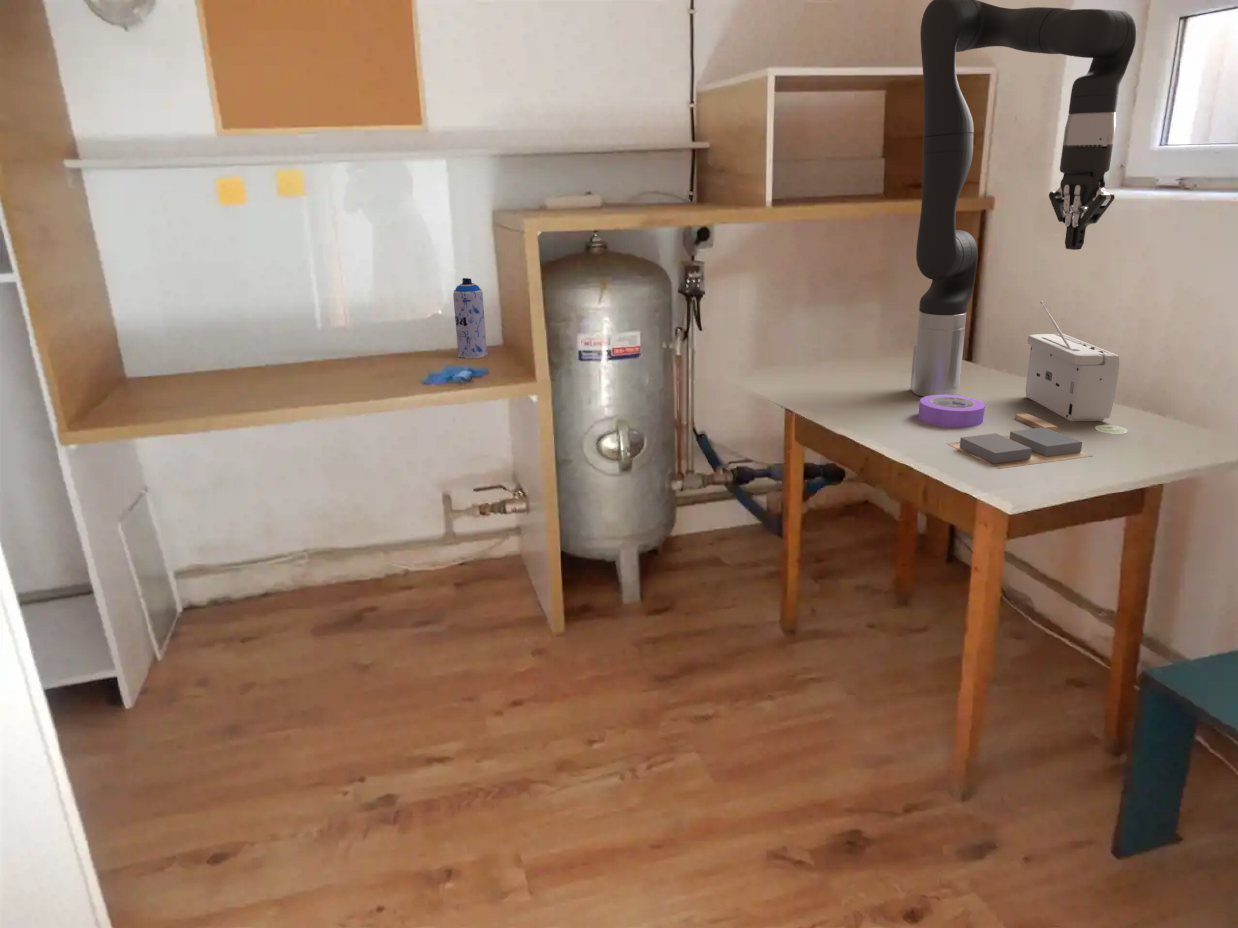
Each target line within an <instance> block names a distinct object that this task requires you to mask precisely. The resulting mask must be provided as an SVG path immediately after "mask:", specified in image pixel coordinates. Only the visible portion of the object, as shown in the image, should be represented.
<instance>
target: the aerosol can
mask: <svg viewBox="0 0 1238 928" xmlns="http://www.w3.org/2000/svg"><path fill="white" fill-rule="evenodd" d="M452 295H453V306H454V308H453V309H454V319H455V320H454V322H455V330H456V344H457V357H458V358H460V359H478V358H479V359H480V358H484V357H487V356H489V353H488V350H487V349H488V348H487V338H486V337H487V336H486V321H485V307H484V295H483V289H482V288H481V287H480V286H479V285H477V284H475V283H474V282H472V278H469V277H468V278H467V277H463V278H462V283H460V284H458V285H457V286H456V287H455V289H454V290H453V294H452Z"/></svg>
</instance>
